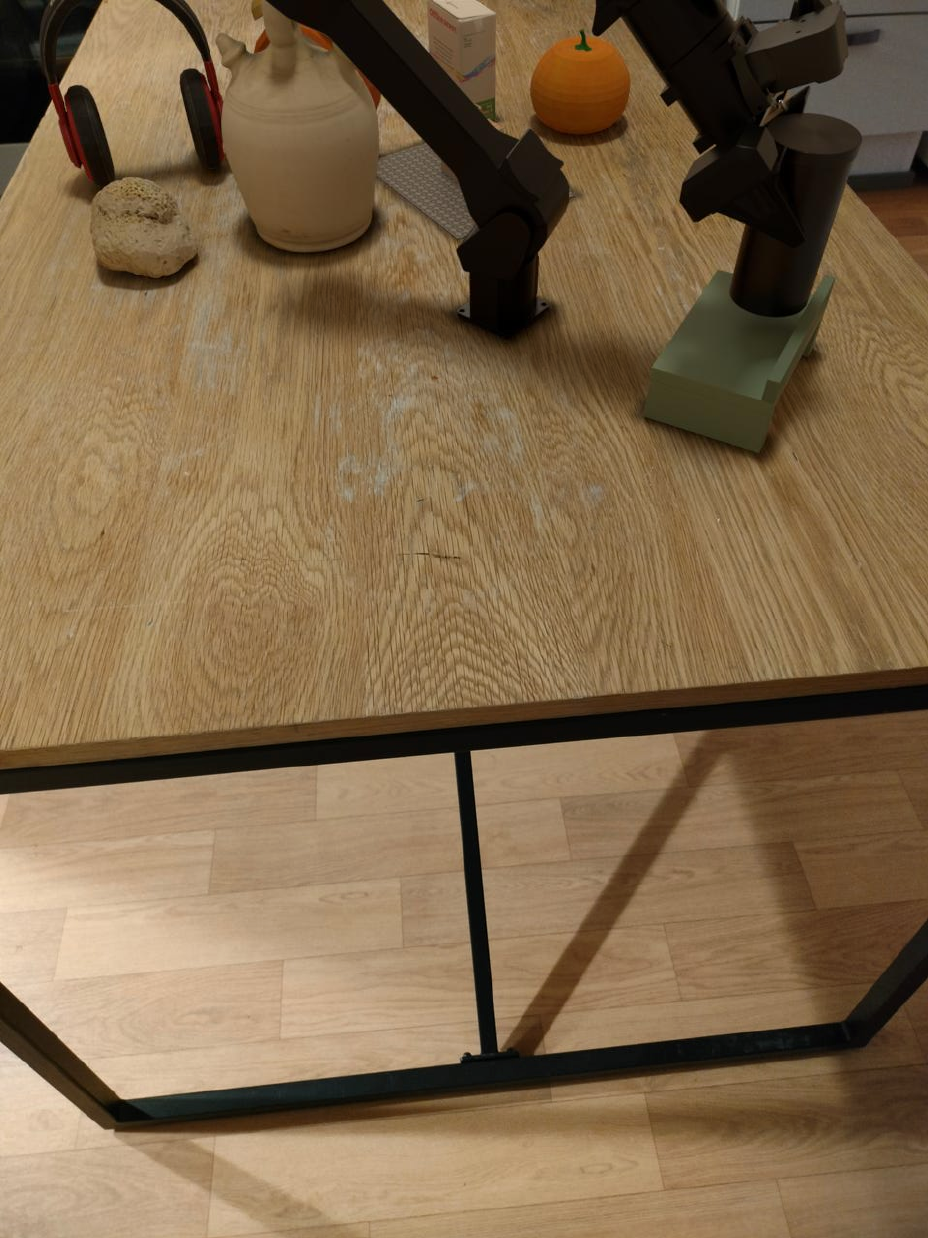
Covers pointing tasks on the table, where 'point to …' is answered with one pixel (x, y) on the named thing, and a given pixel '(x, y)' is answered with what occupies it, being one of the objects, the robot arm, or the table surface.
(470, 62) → the ink box
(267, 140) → the jug
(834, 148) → the canister
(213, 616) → the table surface
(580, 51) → the fruit
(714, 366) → the olive lipped block
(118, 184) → the decorative item
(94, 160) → the headphones
